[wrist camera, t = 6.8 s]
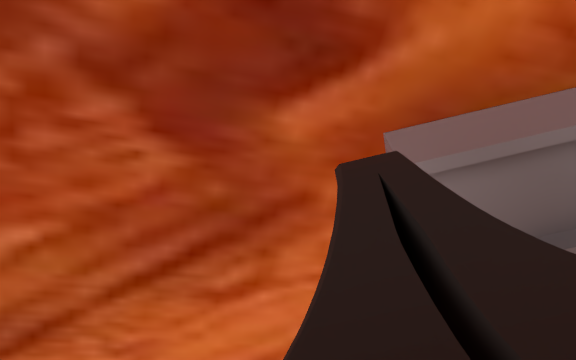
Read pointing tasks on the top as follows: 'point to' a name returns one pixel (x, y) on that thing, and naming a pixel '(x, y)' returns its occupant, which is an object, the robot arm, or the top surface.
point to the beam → (506, 162)
